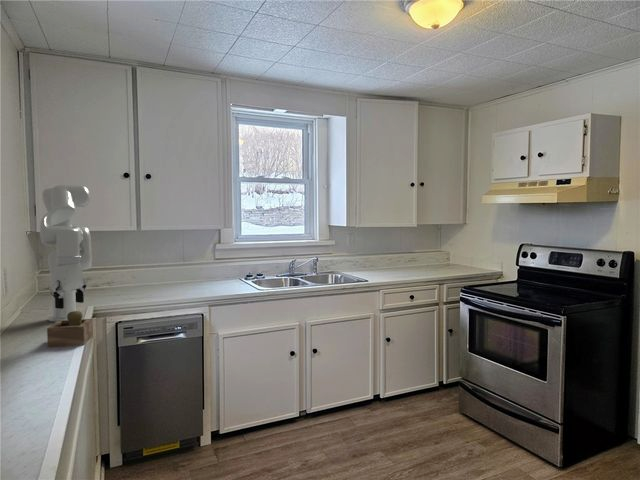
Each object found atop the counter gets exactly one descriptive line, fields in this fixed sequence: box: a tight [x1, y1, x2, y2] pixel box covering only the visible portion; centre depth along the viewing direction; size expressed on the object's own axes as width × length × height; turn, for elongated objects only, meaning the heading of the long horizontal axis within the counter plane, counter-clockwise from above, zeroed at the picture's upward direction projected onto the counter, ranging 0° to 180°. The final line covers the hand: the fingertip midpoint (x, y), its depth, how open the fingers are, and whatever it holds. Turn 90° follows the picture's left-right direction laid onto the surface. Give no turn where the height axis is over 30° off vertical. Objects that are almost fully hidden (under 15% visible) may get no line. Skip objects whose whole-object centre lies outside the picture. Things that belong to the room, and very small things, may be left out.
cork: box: [67, 310, 84, 326], centre depth 167 cm, size 6×6×11 cm
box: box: [46, 318, 94, 348], centre depth 165 cm, size 12×12×7 cm
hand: (69, 305), depth 165 cm, fingers open, 9 cm apart
